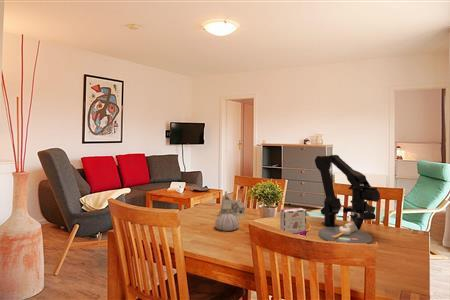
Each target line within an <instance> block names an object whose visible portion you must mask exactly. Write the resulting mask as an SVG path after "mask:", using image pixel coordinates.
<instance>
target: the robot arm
mask: <svg viewBox="0 0 450 300" xmlns="http://www.w3.org/2000/svg"><path fill="white" fill-rule="evenodd" d="M314 164H315V166H316V169H317V170H318V171H319V172H320V176H321V182H322V186H323V192H324V195H325V196H324V197H325V199H324V201H323V207H322V208H321V209H320V214H321V215H323V216H324V217H323V219H324V220H323V221H322V222H321V224H322V225H324V226H325V227H338V224H337V223H336V215H339V212H340V210H341V209H342V203H341V198H340V197H338V198H337V196H336V195H335V190H334V185H333V181H332V175H331V171H330V169H331V166H332V164H333V165H334V166H335V167H336V168H337V169H338V170H339V171H340V172H341V173H342V174H343V175H345V177H346V179H347V181H348V182H349V183H350V186H349V187H347V188H348V190H351V198H352V199H351V200H350V201H349V202H350V203H352V204H351V205H352V206H344V207H343V210H342V212H343V213H345V214H348V213H350V215H349V216H350V218H351V220H352V221H354V223H355V225H356V227H357V230H361V228H362V225H363V223H364V221H365V220H366V221H367V220H369V221H370V220H377V219H376V216H377V215H376V214H375V210H376V206H373V205H370V204H369V203H368V202H375V203H377V202H379V200H380V198H381V193H380V192H379V190H378V188H377V187H376V186H375V187H373V186H371V184H370V183H369V182H368V180H367V177H366V175H365V174H363V173H362V172H360V171H358V170H356V169H353V168H352V167H351V166H349V165H348V163H347V162H345V160H343V159H342V158H341V157H340V156H339V155H338V154H330V155H317V156H316V157H315V159H314ZM367 201H368V202H367Z"/></svg>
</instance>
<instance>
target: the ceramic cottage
mask: <svg viewBox="0 0 450 300" xmlns="http://www.w3.org/2000/svg"><path fill="white" fill-rule="evenodd" d="M245 209H246V208H245V202H241V199H240V198H238V199H231V197H230V195H228V192H227V191H226V190H225V191H224V195H223V196H222V199H221V207H220V210H219V213H218V217H219V216H220V215H222V214H226V213H229V214H233V215H234V216H236V218H238V217H239V218H240V217H245V216H246V215H245V214H246V213H245V211H246V210H245Z"/></svg>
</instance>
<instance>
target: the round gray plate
mask: <svg viewBox="0 0 450 300" xmlns="http://www.w3.org/2000/svg"><path fill="white" fill-rule="evenodd" d="M339 230H340V226H326V227H323V228H320V229H319V230H318V237H319V236H320V237H321V238H320V237H319V238H320V239H322V240H323V239H324V241H326V240H329V241H336V242H347V243H367V244H368V245H370V244H371V242H373V235H371V234H370V233H368V232H366V231H365V230H364V231H363V230H362V229H360V230H358V229H357V230H355V231H353V232H351V233H350V235H341V236H339V237H337V238H334V236H335V235H338V234H340V233H339Z"/></svg>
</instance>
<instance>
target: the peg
mask: <svg viewBox="0 0 450 300" xmlns="http://www.w3.org/2000/svg"><path fill="white" fill-rule="evenodd" d="M339 227H340V230H339V233H340V234H338V235H335V236H334V238H337V237H339V236H341V235H350V233H351V232H353V231H355V230H358V229H357V227H356V225H355V223H354V221H353V220H352V221H349V222H348V223H345V224H344V226H343V225H340V226H339Z"/></svg>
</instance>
